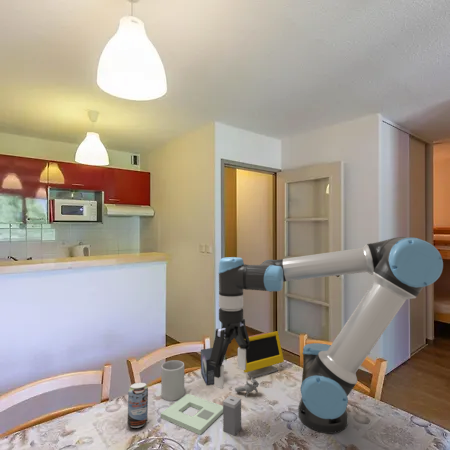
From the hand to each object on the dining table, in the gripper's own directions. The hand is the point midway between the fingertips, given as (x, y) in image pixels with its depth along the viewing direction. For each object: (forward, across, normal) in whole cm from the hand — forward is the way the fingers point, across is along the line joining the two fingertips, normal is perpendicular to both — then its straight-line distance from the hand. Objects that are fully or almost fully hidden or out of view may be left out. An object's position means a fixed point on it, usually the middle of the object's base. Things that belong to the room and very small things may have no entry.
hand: (231, 377), depth 93 cm
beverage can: (+16, +13, -27) cm, 34 cm away
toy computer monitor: (+16, -39, -9) cm, 43 cm away
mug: (+16, -7, -30) cm, 34 cm away
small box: (+16, -23, -24) cm, 37 cm away
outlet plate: (+16, 0, -15) cm, 22 cm away
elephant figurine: (+16, -19, -4) cm, 25 cm away
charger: (+16, 0, 0) cm, 16 cm away
